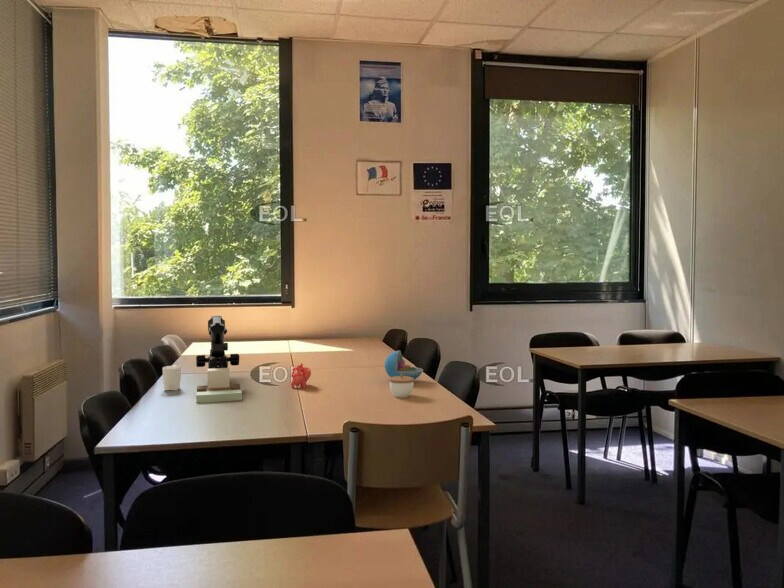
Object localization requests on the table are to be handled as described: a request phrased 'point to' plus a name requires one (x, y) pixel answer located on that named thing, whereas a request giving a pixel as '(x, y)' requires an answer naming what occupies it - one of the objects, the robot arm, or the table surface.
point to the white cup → (171, 377)
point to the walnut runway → (205, 388)
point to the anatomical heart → (299, 378)
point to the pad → (218, 396)
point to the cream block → (218, 377)
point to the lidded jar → (401, 385)
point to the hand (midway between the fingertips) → (218, 375)
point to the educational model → (400, 366)
